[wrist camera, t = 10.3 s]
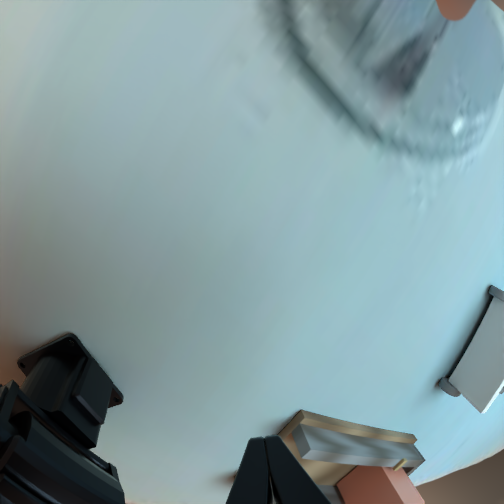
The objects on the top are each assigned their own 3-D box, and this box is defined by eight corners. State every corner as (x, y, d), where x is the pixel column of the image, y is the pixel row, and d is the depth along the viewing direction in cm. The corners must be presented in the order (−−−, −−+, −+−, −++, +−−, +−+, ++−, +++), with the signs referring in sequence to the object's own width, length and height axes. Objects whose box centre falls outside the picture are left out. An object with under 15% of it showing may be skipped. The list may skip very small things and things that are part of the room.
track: (234, 477, 26) (241, 511, 22) (301, 409, 24) (318, 447, 20) (353, 488, 31) (365, 512, 27) (413, 434, 29) (431, 458, 25)
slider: (336, 484, 28) (365, 545, 19) (372, 452, 27) (410, 514, 18) (358, 484, 29) (388, 539, 20) (393, 454, 28) (430, 510, 19)
